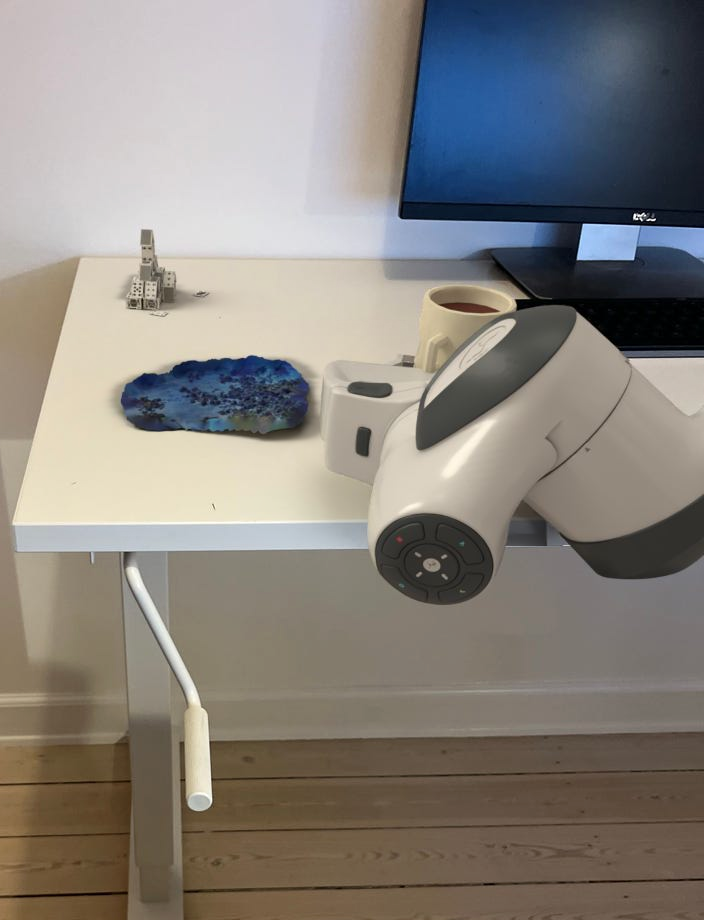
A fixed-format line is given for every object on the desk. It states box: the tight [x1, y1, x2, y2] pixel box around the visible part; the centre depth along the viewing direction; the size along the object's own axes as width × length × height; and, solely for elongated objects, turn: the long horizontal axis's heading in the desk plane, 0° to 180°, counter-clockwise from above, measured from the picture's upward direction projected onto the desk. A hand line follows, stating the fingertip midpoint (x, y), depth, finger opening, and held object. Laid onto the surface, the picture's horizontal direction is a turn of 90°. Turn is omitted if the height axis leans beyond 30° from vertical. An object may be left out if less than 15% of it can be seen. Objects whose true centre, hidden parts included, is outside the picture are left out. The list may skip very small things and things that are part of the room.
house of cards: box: [125, 228, 210, 317], centre depth 111 cm, size 9×9×8 cm
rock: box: [120, 354, 310, 435], centre depth 92 cm, size 15×17×2 cm
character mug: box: [414, 284, 518, 373], centre depth 80 cm, size 11×7×13 cm, turn 140°
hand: (457, 369), depth 81 cm, fingers closed on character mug, 7 cm apart
